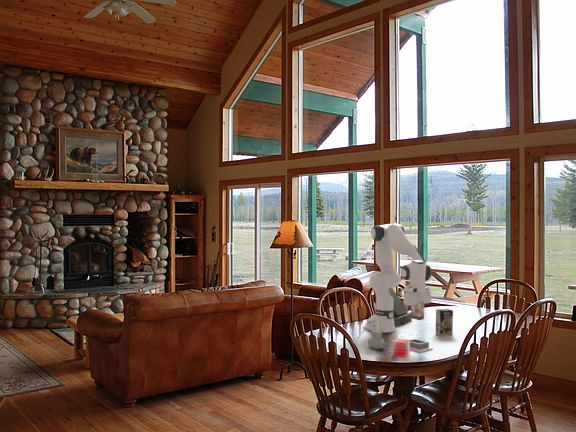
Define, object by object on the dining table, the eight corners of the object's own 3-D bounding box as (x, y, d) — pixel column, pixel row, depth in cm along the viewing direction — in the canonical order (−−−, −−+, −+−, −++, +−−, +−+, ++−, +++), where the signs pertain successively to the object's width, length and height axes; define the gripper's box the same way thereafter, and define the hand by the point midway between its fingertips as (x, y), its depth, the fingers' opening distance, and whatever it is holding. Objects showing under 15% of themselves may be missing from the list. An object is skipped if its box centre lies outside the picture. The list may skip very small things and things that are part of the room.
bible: (399, 326, 377) (399, 290, 376) (373, 323, 388) (374, 288, 387) (411, 321, 396) (412, 287, 395) (386, 318, 407) (387, 284, 406)
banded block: (419, 320, 313) (419, 302, 313) (411, 318, 318) (411, 301, 318) (423, 319, 315) (424, 302, 315) (416, 317, 320) (416, 300, 320)
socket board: (401, 346, 320) (401, 340, 320) (414, 344, 326) (414, 337, 326) (419, 352, 308) (419, 345, 308) (432, 349, 314) (432, 342, 314)
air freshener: (367, 346, 321) (367, 329, 320) (381, 346, 321) (381, 329, 321) (371, 351, 310) (371, 333, 310) (385, 350, 310) (386, 333, 310)
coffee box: (440, 336, 349) (440, 310, 349) (435, 333, 355) (435, 309, 355) (453, 335, 351) (453, 310, 351) (447, 333, 357) (447, 308, 357)
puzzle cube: (407, 357, 297) (407, 343, 297) (393, 355, 300) (393, 341, 300) (409, 353, 305) (410, 339, 305) (395, 352, 308) (395, 338, 307)
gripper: (425, 286, 325) (425, 309, 325) (401, 288, 313) (401, 312, 314) (434, 287, 320) (433, 310, 320) (409, 290, 308) (409, 314, 308)
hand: (417, 311), depth 317 cm, fingers closed on banded block, 4 cm apart
